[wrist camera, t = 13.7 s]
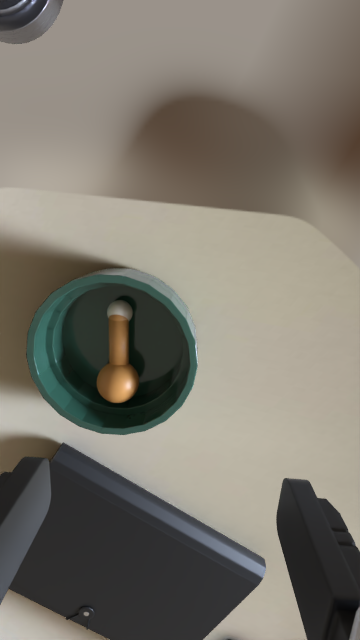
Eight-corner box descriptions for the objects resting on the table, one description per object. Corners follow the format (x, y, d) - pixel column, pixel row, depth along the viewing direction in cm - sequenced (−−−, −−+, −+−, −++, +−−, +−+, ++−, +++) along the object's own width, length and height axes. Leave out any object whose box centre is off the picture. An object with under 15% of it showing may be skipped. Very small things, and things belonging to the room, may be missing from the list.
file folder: (-27, 575, 44) (55, 455, 39) (-9, 547, 48) (67, 435, 43) (169, 673, 48) (268, 577, 43) (171, 640, 52) (262, 548, 47)
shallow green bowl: (46, 264, 36) (18, 270, 30) (201, 271, 36) (203, 279, 30) (55, 401, 41) (33, 429, 35) (192, 409, 40) (192, 439, 35)
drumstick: (102, 296, 36) (87, 305, 32) (143, 299, 36) (134, 308, 31) (104, 388, 40) (91, 409, 35) (142, 391, 39) (133, 413, 35)
